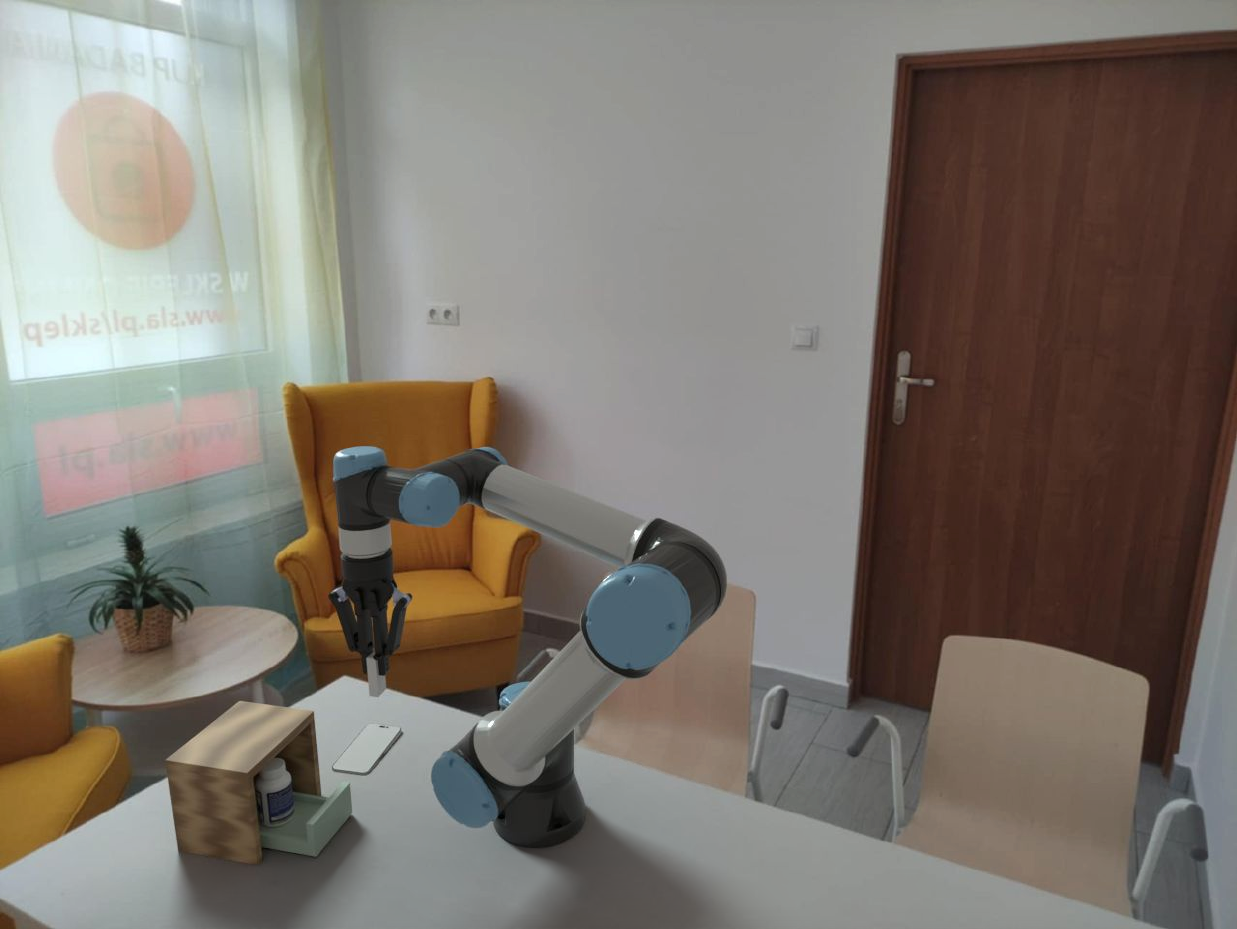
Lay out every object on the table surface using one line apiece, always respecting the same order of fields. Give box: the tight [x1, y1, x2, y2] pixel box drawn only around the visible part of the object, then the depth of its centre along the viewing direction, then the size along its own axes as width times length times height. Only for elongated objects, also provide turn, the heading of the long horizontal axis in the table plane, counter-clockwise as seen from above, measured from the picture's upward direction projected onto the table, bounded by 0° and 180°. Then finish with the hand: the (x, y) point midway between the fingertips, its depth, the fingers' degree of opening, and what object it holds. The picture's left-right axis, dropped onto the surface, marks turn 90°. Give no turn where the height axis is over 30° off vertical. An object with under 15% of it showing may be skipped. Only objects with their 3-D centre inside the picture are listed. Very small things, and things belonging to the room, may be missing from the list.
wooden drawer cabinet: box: [164, 700, 322, 866], centre depth 145 cm, size 14×18×16 cm
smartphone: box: [331, 723, 402, 776], centre depth 168 cm, size 7×1×15 cm
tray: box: [254, 781, 353, 857], centre depth 145 cm, size 19×11×6 cm, turn 77°
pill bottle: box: [255, 758, 295, 827], centre depth 145 cm, size 5×5×10 cm
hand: (377, 692), depth 141 cm, fingers closed
